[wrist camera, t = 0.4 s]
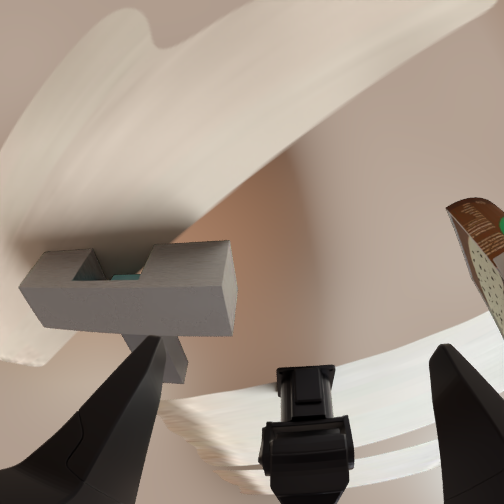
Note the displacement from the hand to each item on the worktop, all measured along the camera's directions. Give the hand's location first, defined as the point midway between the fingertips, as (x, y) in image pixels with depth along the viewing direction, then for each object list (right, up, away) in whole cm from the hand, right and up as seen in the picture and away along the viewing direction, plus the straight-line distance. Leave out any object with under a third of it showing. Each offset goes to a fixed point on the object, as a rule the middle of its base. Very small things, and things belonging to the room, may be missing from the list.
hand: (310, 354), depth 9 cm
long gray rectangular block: (-12, +2, +17) cm, 21 cm away
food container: (+19, +5, +13) cm, 23 cm away
